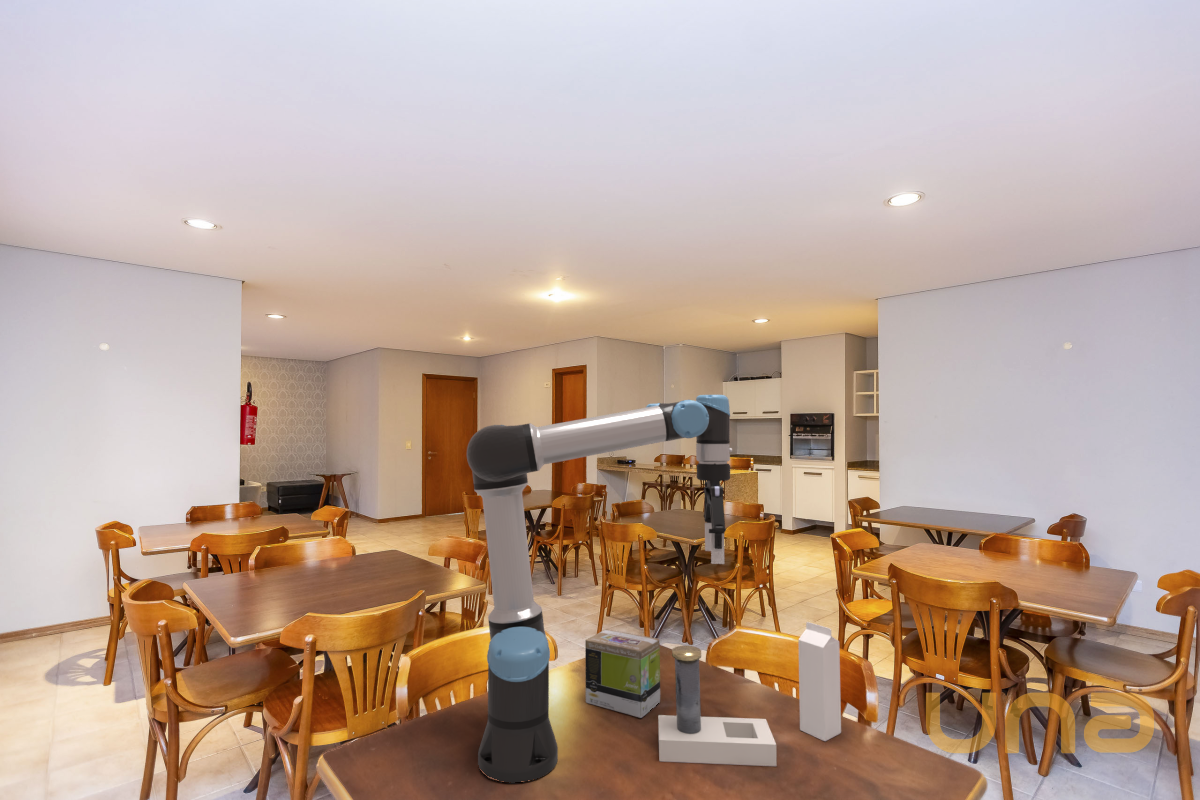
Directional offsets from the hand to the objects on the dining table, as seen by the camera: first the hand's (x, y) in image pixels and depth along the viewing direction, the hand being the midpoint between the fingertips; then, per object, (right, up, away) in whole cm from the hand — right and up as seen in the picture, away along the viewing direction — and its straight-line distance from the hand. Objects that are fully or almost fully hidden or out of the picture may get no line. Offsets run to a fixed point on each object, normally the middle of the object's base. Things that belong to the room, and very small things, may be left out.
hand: (714, 556), depth 135 cm
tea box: (-21, -35, +4) cm, 41 cm away
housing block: (-3, -34, -17) cm, 38 cm away
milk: (+20, -34, -10) cm, 41 cm away
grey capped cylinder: (-8, -30, -16) cm, 35 cm away
